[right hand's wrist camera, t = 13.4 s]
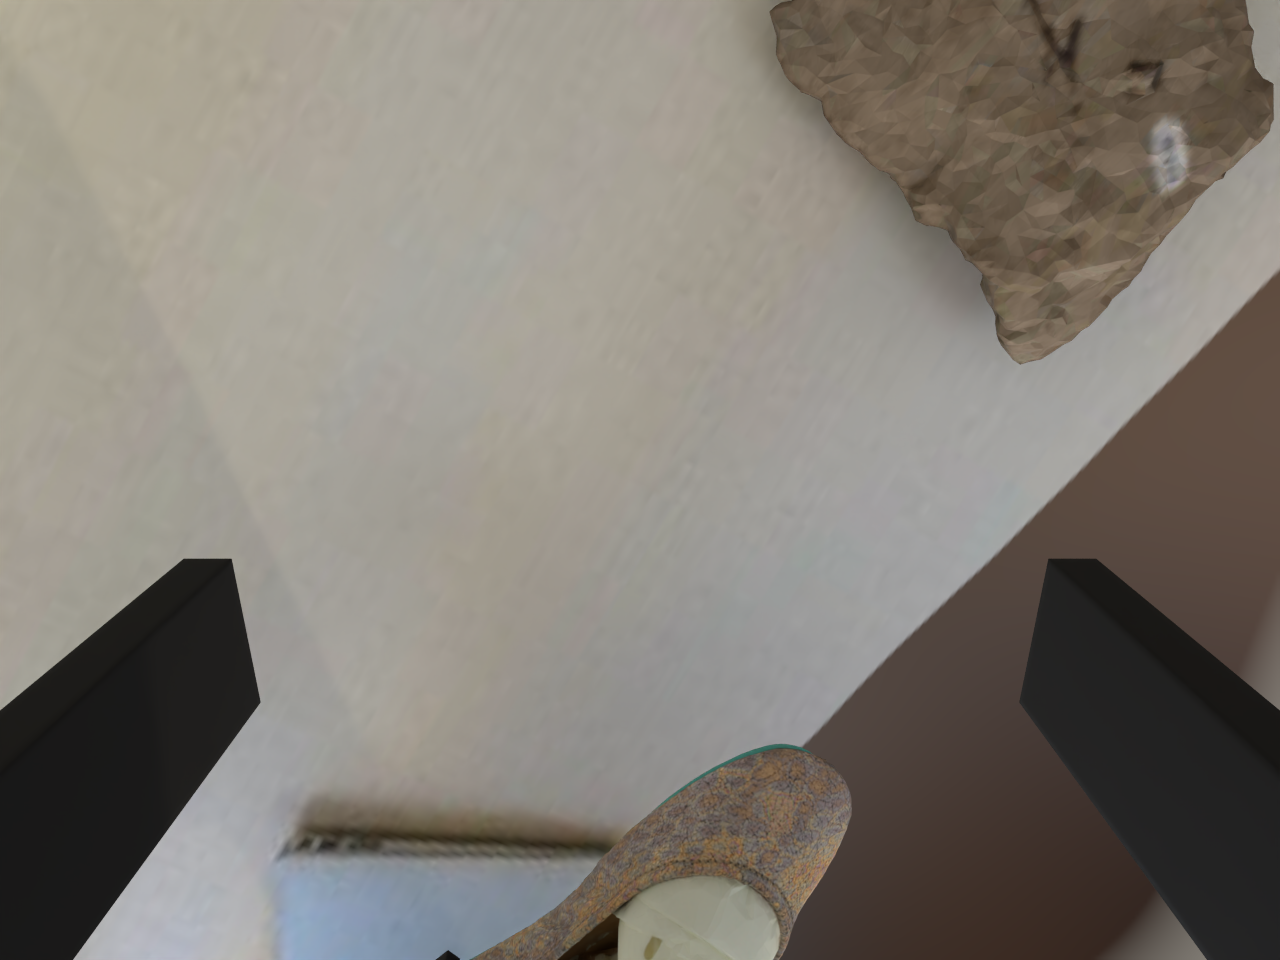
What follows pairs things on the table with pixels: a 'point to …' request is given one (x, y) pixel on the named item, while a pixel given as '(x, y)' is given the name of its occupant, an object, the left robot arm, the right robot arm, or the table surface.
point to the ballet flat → (705, 869)
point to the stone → (1038, 130)
